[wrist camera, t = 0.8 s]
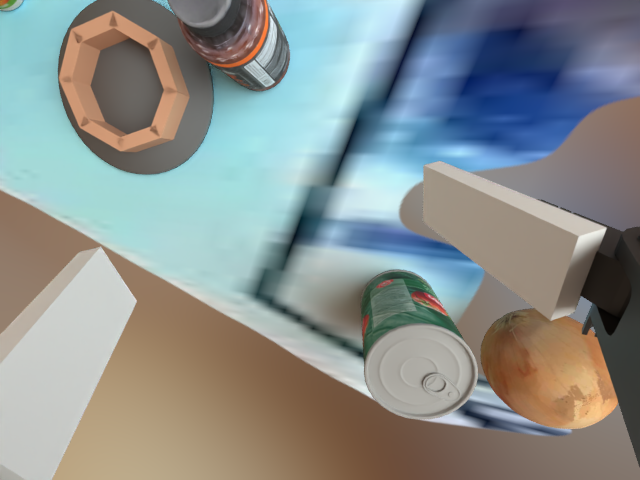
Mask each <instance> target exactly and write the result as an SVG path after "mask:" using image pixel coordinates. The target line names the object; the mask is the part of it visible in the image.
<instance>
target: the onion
mask: <svg viewBox="0 0 640 480" xmlns="http://www.w3.org/2000/svg"><path fill="white" fill-rule="evenodd" d="M582 327H583V324H581V323H580V322H578V321H576V320H574V319H572V318H570V317H567V316H563V317H561V318H558V319H555V320H552V321H550V320H549V319H548V318H546V317H545V316H544V315H543V314H541V313H540V312H539V311H537V310H536V309H535V308H533V309H523V310H518V311H514V312H511V313H508V314H506V315H504V316H503V317H502V318H500V319H498V320H497V321H496V322H494V323H493V324H492V326H491V327H490V328H489V330H488V331H487V333H486V334H485V336H484V339H483V342H482V345H481V364H482V367H483V370H484V373H485V376H486V378H487V380H488V382H489V384H490V386H491V388H492V389H493V390H494V392H495V393H496V394H497V396H498V397H499V398H500V399H501V400H502V401H503V402H504V403H505V404H507V405H508V406H509V407H510V408H511V409H512V410H514V411H515V412H516V413H518V414H519V415H521V416H523V417H525V418H527V419H529V420H531V421H533V422H536V423H538V424H541V425H544V426H548V427H554V428H563V429H576V428H584V427H587V426H590V425H592V424H594V423H596V422H598V421H600V420H602V419H603V418H604V417H606V416H607V415H608V414H610V413H611V412H612V411H613V410H614V408H615V407H616V406H617V404H618V400H617V396H616V393H615V390H614V387H613V384H612V381H611V378H610V375H609V372H608V369H607V366H606V363H605V360H604V357H603V354H602V351H601V348H600V345H599V341H598V338H597V337H594V335H595V333H594V332H593V331H592V330H591V329H589V331H588V334H587V335H583V334H582Z"/></svg>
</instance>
